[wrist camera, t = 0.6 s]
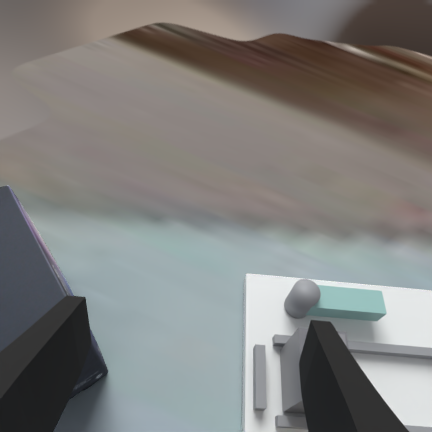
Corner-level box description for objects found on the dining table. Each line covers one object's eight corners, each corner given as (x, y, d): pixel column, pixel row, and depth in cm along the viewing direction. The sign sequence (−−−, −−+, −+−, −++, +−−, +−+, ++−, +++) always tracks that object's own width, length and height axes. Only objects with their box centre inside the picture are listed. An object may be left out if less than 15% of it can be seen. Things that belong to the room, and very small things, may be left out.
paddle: (373, 325, 28) (391, 312, 26) (284, 317, 28) (294, 303, 26) (368, 300, 29) (385, 286, 27) (283, 293, 29) (292, 277, 27)
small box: (115, 370, 26) (86, 320, 17) (22, 432, 23) (-65, 408, 15) (56, 261, 30) (10, 178, 22) (-27, 302, 28) (-117, 226, 19)
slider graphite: (327, 415, 24) (361, 401, 20) (282, 412, 24) (307, 397, 20) (320, 353, 27) (350, 328, 22) (279, 350, 26) (301, 324, 22)
